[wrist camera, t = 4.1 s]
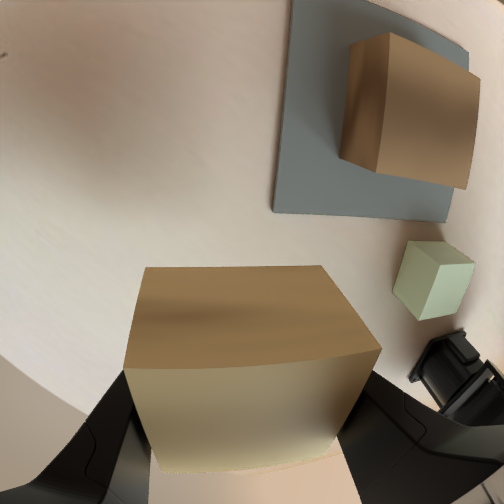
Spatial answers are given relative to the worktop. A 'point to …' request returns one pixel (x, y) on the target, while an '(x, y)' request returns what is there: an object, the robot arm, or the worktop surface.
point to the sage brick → (432, 278)
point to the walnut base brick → (409, 112)
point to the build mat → (332, 116)
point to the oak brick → (244, 365)
